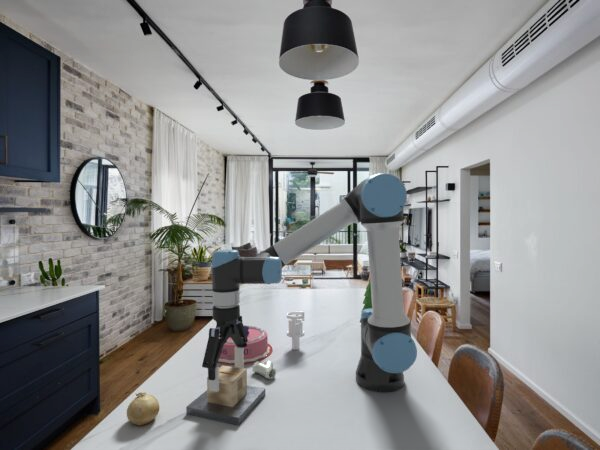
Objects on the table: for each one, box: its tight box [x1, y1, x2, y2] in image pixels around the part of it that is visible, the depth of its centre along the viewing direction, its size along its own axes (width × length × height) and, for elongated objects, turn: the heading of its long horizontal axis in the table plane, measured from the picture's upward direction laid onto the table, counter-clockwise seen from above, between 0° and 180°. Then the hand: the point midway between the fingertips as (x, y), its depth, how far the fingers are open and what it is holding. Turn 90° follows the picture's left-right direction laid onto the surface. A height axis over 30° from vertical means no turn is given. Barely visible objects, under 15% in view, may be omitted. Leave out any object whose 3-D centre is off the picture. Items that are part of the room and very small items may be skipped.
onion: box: [126, 391, 160, 427], centre depth 93 cm, size 8×8×7 cm
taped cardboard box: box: [206, 364, 248, 407], centre depth 101 cm, size 8×8×7 cm
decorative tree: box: [359, 281, 372, 324], centre depth 150 cm, size 10×9×30 cm
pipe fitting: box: [252, 360, 277, 380], centre depth 120 cm, size 8×4×7 cm
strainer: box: [286, 310, 305, 351], centre depth 142 cm, size 7×7×15 cm
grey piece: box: [185, 384, 266, 426], centre depth 101 cm, size 16×16×8 cm
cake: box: [217, 324, 274, 366], centre depth 139 cm, size 25×25×11 cm
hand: (227, 379), depth 101 cm, fingers open, 13 cm apart
